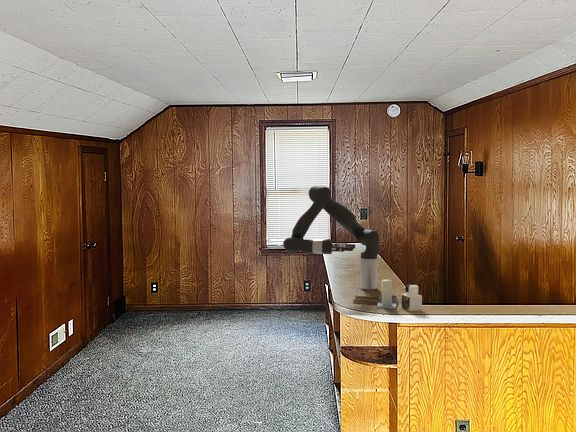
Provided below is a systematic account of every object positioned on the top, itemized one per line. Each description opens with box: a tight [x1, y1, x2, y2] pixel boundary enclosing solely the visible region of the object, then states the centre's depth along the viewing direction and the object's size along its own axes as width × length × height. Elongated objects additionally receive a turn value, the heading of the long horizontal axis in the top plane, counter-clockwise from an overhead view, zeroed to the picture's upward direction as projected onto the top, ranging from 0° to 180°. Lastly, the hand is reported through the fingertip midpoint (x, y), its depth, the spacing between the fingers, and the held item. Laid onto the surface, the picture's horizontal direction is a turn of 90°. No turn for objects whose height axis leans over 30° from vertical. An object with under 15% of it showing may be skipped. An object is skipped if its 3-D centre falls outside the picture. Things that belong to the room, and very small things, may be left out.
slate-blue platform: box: [376, 301, 398, 310], centre depth 294 cm, size 8×9×1 cm
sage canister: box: [380, 279, 393, 306], centre depth 294 cm, size 5×5×12 cm
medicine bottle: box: [401, 283, 423, 312], centre depth 289 cm, size 7×7×12 cm
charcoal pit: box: [378, 294, 398, 304], centre depth 302 cm, size 8×8×3 cm
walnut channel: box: [352, 295, 380, 305], centre depth 305 cm, size 9×12×2 cm
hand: (354, 247), depth 301 cm, fingers open, 8 cm apart
